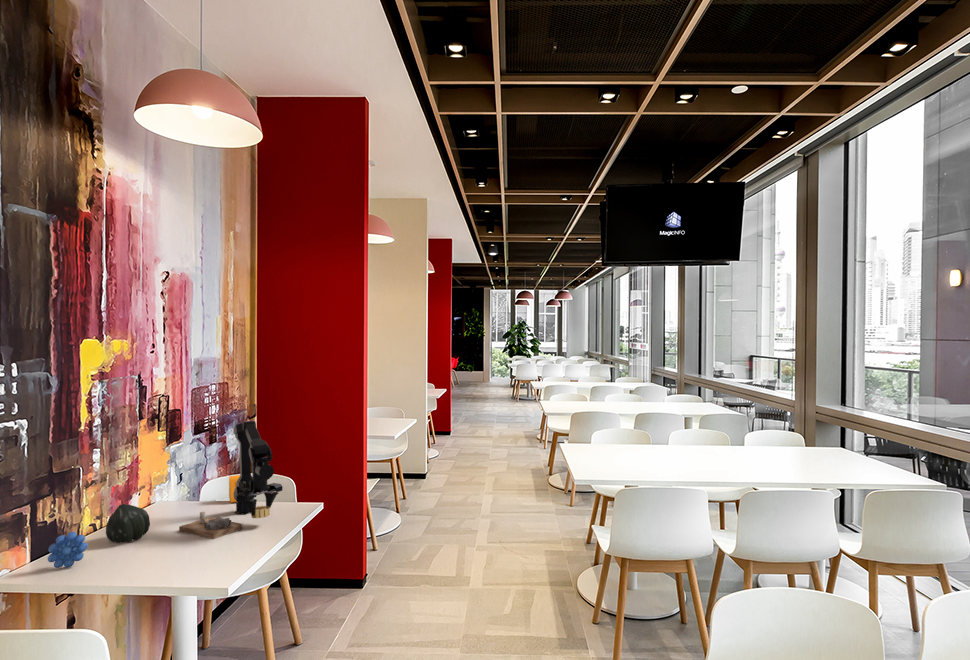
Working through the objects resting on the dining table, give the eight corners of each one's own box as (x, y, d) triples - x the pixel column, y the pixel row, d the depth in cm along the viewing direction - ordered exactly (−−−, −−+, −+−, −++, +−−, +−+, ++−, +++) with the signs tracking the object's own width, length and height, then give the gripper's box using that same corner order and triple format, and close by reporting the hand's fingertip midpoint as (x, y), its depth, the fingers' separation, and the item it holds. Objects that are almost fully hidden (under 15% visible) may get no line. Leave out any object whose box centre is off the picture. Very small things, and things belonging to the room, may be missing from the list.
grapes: (92, 560, 201) (92, 526, 201) (85, 567, 194) (84, 532, 194) (53, 565, 197) (52, 530, 197) (44, 572, 191) (44, 536, 191)
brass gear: (261, 512, 239) (261, 505, 239) (273, 514, 236) (273, 506, 236) (247, 516, 233) (247, 509, 233) (259, 519, 230) (259, 511, 230)
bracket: (247, 501, 272) (246, 476, 272) (230, 504, 269) (230, 478, 269) (245, 496, 281) (244, 472, 282) (229, 498, 278) (228, 474, 278)
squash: (161, 516, 232) (132, 492, 229) (152, 529, 218) (122, 503, 215) (132, 543, 229) (102, 518, 226) (121, 558, 215) (89, 532, 211)
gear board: (208, 522, 242) (208, 506, 242) (241, 528, 232) (241, 512, 232) (179, 531, 230) (179, 515, 230) (213, 538, 220) (213, 521, 220)
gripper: (264, 468, 247) (265, 504, 246) (226, 478, 230) (227, 517, 230) (283, 470, 241) (283, 507, 241) (245, 480, 225) (246, 520, 225)
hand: (260, 513), depth 234 cm, fingers closed on brass gear, 7 cm apart
